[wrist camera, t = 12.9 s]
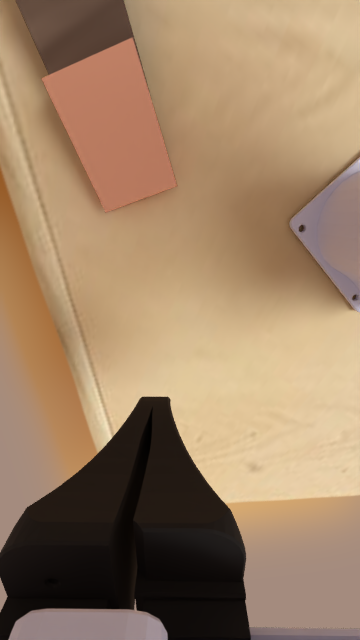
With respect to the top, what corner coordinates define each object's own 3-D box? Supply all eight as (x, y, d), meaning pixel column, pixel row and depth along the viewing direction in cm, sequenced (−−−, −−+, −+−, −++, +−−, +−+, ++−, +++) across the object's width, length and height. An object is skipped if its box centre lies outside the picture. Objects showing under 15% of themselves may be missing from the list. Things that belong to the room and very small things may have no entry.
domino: (149, 91, 16) (90, -117, 12) (70, 122, 16) (-15, -66, 12) (149, 92, 17) (96, -96, 13) (75, 120, 18) (1, -50, 13)
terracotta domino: (177, 186, 18) (132, 37, 13) (105, 212, 18) (41, 78, 14) (175, 180, 19) (134, 43, 15) (108, 205, 19) (50, 80, 15)
